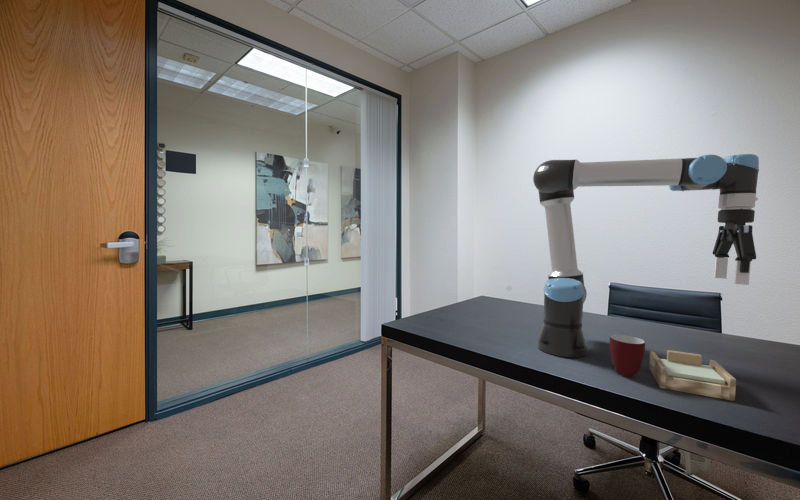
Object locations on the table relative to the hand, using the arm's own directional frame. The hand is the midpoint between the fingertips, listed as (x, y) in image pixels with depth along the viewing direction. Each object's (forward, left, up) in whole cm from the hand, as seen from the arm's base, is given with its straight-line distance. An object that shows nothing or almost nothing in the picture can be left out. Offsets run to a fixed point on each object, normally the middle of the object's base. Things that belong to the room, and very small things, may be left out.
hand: (730, 281), depth 97 cm
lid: (-14, -22, -22) cm, 34 cm away
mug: (-28, -22, -25) cm, 44 cm away
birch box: (-14, -22, -25) cm, 36 cm away
